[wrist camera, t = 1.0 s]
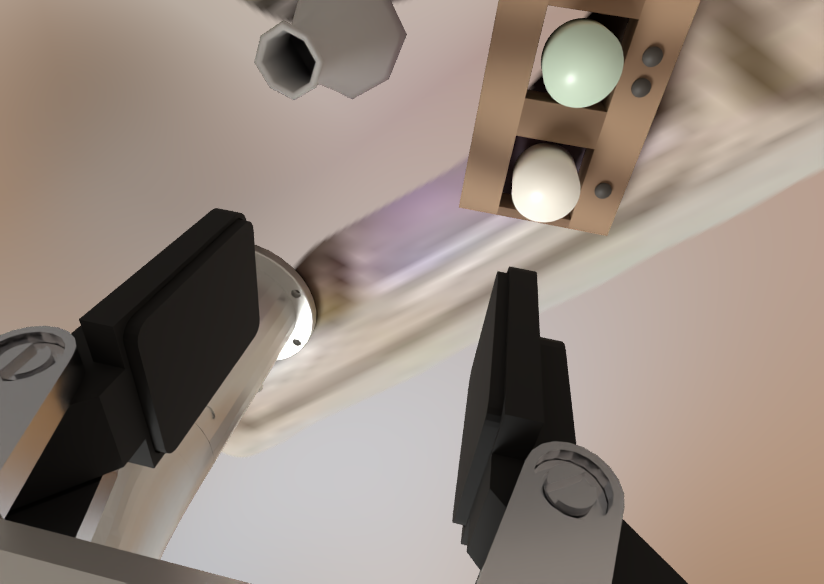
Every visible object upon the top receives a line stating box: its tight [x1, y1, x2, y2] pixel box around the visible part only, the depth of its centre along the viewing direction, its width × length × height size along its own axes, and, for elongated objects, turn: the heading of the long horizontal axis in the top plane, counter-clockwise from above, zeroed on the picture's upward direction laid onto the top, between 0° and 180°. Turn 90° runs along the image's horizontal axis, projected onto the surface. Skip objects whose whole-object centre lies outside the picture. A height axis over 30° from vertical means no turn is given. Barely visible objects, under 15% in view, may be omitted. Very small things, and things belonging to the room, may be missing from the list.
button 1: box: [512, 143, 580, 222], centre depth 31 cm, size 4×4×3 cm
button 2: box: [541, 18, 624, 108], centre depth 27 cm, size 4×4×3 cm
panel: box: [459, 0, 700, 236], centre depth 29 cm, size 20×10×3 cm, turn 173°
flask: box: [255, 0, 407, 100], centre depth 27 cm, size 7×7×10 cm
